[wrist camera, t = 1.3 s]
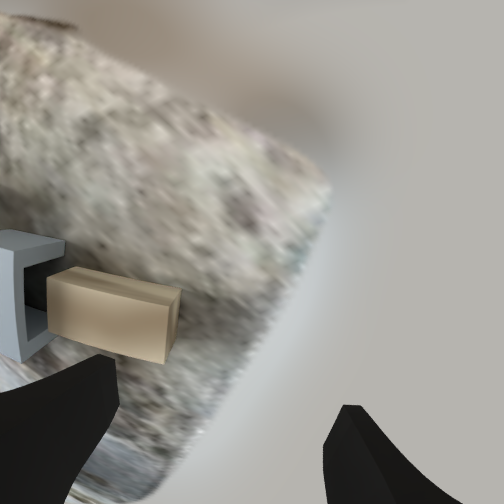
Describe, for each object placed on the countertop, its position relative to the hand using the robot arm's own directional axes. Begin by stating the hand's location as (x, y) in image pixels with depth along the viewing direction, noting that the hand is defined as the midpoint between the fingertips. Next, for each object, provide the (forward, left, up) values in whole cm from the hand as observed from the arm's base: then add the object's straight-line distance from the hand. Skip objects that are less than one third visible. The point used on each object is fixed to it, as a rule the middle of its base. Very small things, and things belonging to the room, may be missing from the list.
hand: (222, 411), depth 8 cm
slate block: (-1, +15, -11) cm, 19 cm away
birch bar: (-1, +7, -11) cm, 14 cm away
